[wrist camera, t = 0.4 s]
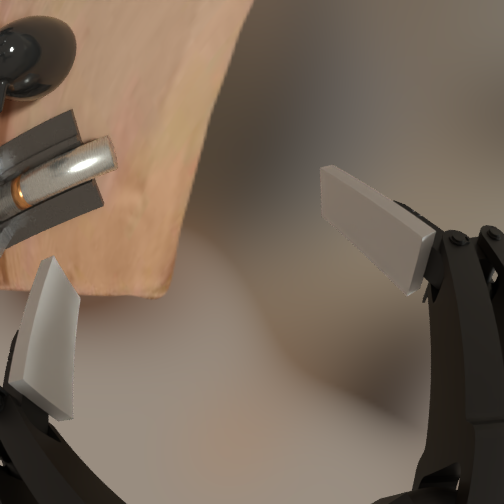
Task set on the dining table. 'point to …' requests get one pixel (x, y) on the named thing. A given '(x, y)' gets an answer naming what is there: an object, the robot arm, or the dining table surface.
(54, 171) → the tube
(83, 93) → the dining table surface
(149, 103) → the dining table surface
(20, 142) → the twin arch cradle
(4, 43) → the black tall rounded dome
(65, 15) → the dining table surface
